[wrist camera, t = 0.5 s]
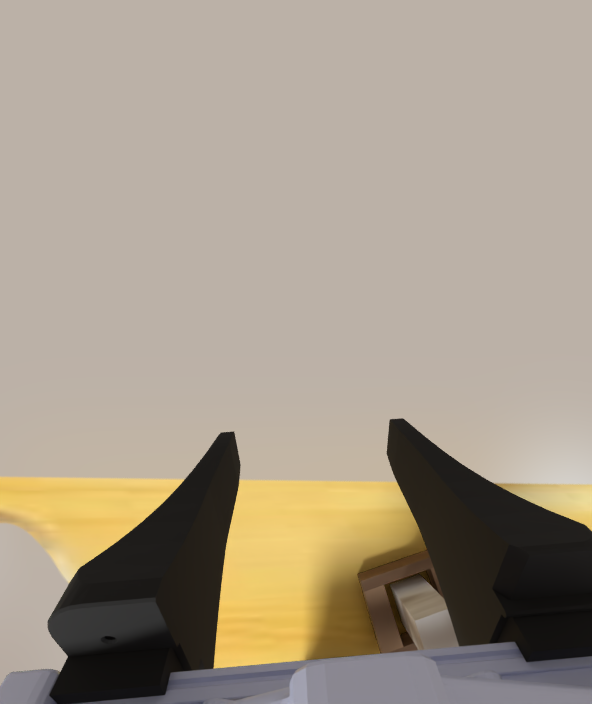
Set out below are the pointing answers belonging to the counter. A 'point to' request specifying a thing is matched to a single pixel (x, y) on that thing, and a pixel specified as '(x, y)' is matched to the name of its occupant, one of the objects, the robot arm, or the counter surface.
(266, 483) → the counter surface
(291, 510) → the counter surface
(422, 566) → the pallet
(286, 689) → the robot arm
